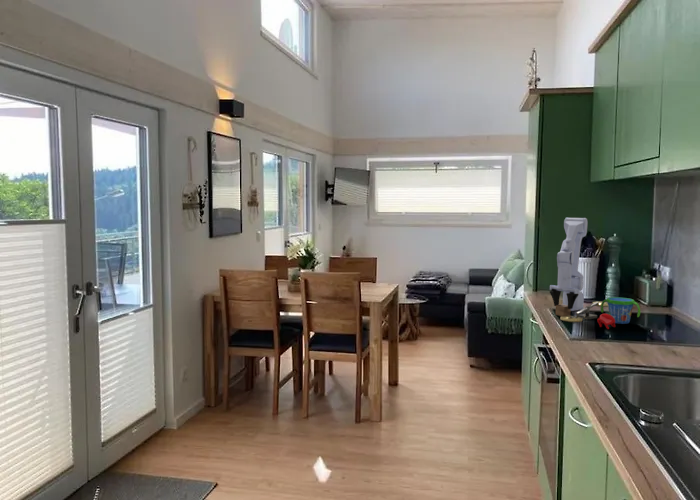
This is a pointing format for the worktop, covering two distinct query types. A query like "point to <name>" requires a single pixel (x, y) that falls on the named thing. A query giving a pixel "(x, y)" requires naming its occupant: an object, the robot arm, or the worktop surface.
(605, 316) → the red toy piece
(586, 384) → the worktop surface
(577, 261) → the robot arm
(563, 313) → the block
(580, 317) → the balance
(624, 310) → the snack cup
